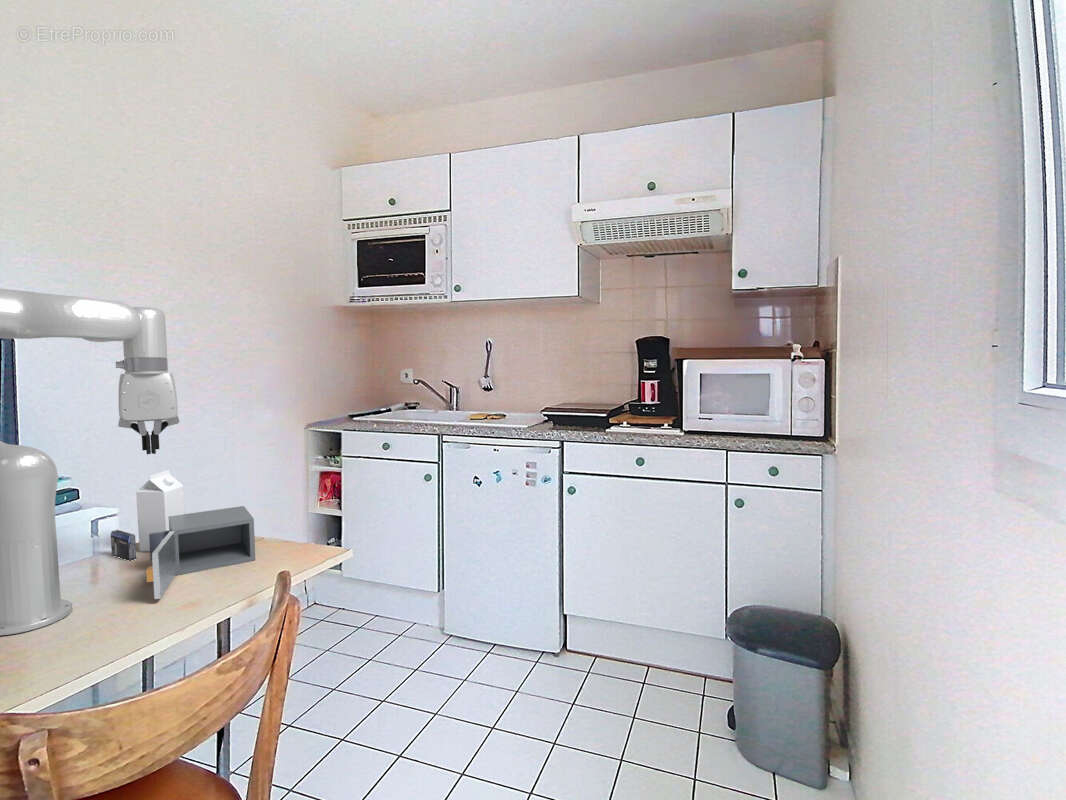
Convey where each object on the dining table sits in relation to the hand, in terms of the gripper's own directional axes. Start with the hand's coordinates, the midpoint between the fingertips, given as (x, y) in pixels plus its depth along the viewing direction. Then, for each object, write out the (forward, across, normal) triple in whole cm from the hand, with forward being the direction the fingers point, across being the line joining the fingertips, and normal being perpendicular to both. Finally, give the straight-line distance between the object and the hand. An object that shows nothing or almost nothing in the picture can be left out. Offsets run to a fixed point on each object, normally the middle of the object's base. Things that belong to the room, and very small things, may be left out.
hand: (151, 453), depth 120 cm
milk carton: (+27, +2, +23) cm, 36 cm away
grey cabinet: (+27, +9, +6) cm, 29 cm away
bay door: (+26, +1, -9) cm, 27 cm away
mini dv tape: (+27, -6, +20) cm, 34 cm away
